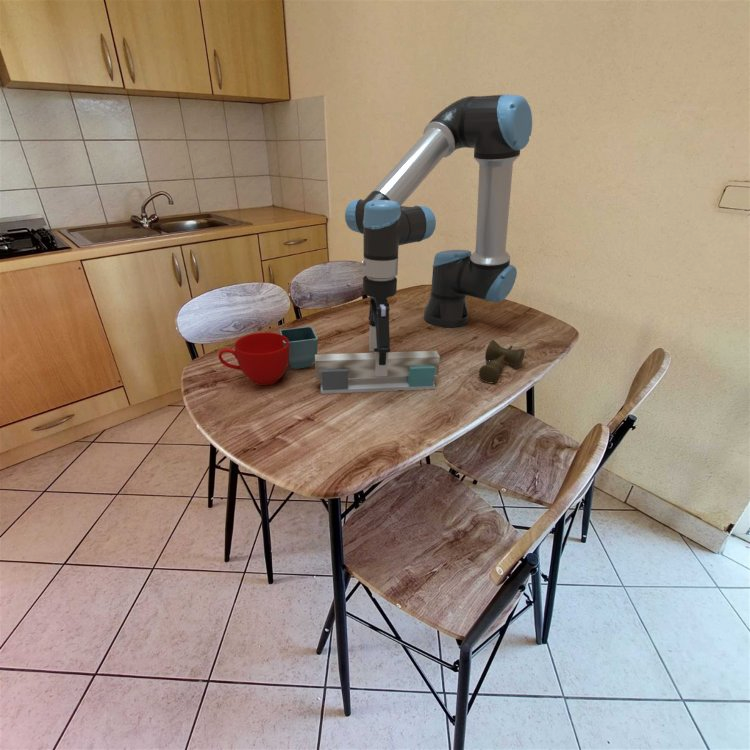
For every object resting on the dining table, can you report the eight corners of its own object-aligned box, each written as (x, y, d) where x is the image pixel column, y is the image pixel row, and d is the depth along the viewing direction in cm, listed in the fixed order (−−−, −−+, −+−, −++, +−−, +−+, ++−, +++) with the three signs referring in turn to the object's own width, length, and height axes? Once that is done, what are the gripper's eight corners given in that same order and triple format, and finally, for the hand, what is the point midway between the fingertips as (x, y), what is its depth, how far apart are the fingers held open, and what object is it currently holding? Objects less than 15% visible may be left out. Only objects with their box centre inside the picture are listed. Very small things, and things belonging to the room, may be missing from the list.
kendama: (468, 379, 113) (493, 350, 128) (504, 391, 109) (526, 359, 124) (471, 359, 110) (497, 332, 125) (508, 370, 106) (531, 340, 121)
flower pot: (286, 374, 112) (283, 342, 108) (281, 359, 120) (278, 329, 116) (319, 369, 115) (318, 338, 111) (313, 355, 122) (311, 325, 118)
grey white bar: (434, 368, 111) (436, 350, 108) (438, 375, 108) (439, 356, 105) (315, 372, 107) (315, 354, 105) (315, 379, 104) (315, 361, 102)
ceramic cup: (224, 370, 114) (219, 335, 109) (290, 365, 117) (287, 330, 112) (220, 395, 102) (214, 357, 98) (293, 389, 106) (290, 352, 101)
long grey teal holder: (428, 375, 113) (430, 355, 111) (434, 389, 107) (437, 367, 104) (320, 379, 110) (319, 358, 107) (320, 393, 104) (319, 371, 101)
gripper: (358, 262, 106) (358, 341, 116) (369, 294, 84) (367, 388, 95) (388, 262, 107) (385, 340, 117) (407, 293, 85) (401, 387, 95)
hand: (377, 362), depth 106 cm, fingers open, 13 cm apart
